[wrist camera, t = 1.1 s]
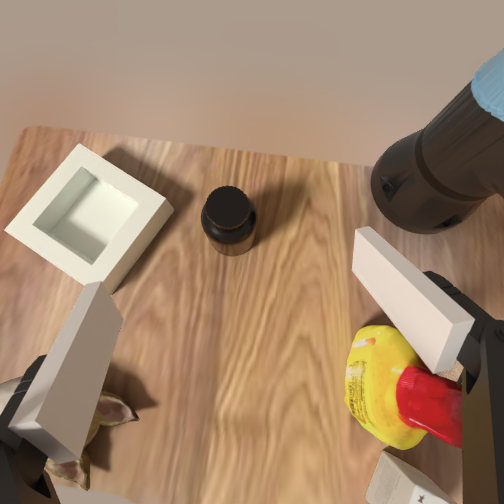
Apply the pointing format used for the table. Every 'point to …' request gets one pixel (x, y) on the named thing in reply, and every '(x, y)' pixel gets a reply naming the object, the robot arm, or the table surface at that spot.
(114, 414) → the ceramic sculpture
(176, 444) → the table surface
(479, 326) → the robot arm
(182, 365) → the table surface
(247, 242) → the supplement bottle
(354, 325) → the table surface
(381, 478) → the skincare box
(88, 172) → the holder
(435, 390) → the bottle
